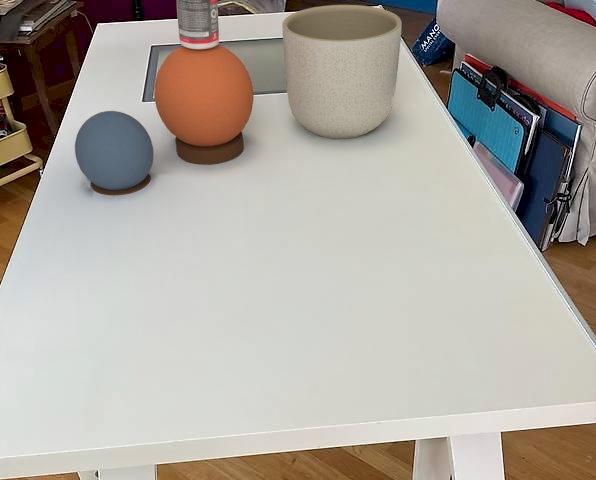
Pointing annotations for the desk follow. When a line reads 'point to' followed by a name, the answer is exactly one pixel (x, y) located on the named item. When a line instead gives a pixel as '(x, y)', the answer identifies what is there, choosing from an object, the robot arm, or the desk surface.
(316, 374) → the desk surface
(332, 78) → the planter
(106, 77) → the desk surface
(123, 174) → the slate ball
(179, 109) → the terracotta ball
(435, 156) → the desk surface
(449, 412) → the desk surface
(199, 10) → the pill bottle
